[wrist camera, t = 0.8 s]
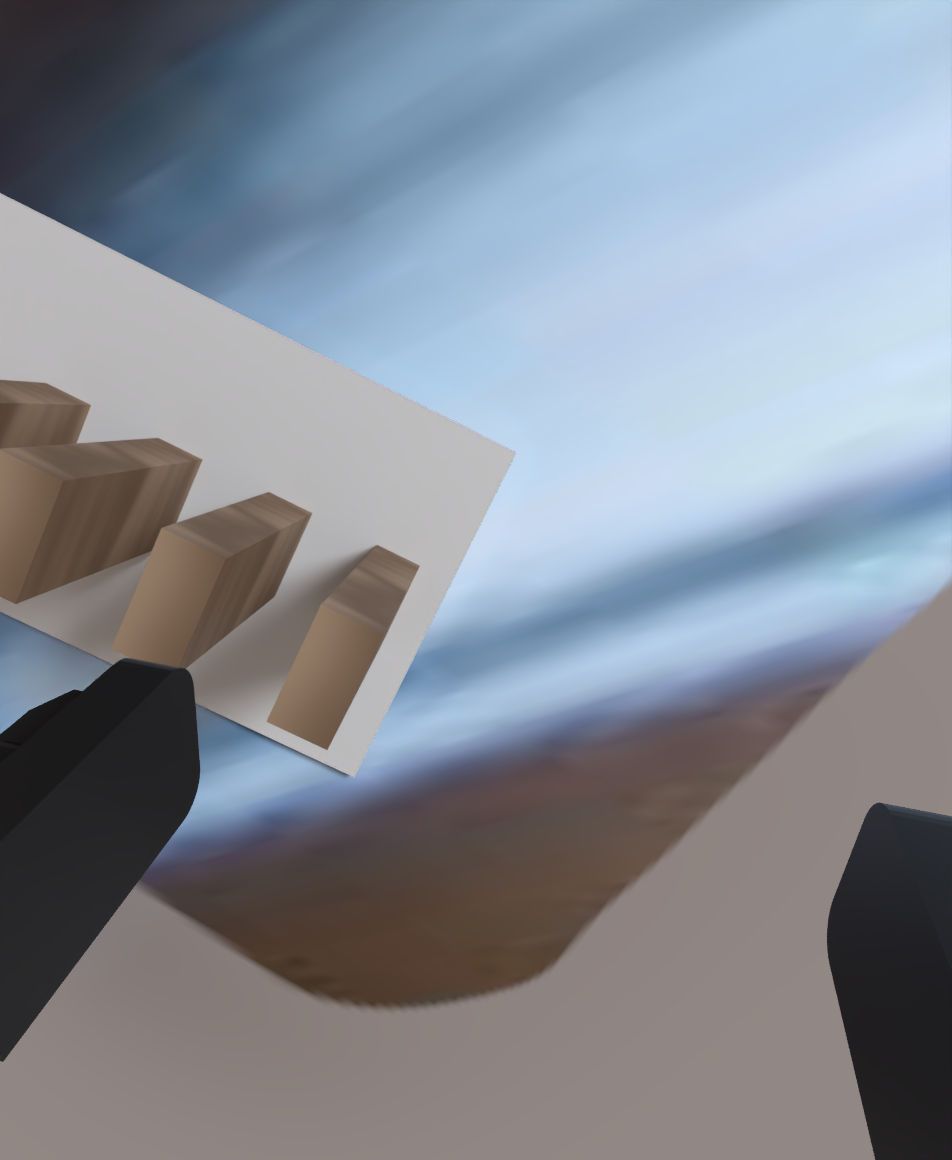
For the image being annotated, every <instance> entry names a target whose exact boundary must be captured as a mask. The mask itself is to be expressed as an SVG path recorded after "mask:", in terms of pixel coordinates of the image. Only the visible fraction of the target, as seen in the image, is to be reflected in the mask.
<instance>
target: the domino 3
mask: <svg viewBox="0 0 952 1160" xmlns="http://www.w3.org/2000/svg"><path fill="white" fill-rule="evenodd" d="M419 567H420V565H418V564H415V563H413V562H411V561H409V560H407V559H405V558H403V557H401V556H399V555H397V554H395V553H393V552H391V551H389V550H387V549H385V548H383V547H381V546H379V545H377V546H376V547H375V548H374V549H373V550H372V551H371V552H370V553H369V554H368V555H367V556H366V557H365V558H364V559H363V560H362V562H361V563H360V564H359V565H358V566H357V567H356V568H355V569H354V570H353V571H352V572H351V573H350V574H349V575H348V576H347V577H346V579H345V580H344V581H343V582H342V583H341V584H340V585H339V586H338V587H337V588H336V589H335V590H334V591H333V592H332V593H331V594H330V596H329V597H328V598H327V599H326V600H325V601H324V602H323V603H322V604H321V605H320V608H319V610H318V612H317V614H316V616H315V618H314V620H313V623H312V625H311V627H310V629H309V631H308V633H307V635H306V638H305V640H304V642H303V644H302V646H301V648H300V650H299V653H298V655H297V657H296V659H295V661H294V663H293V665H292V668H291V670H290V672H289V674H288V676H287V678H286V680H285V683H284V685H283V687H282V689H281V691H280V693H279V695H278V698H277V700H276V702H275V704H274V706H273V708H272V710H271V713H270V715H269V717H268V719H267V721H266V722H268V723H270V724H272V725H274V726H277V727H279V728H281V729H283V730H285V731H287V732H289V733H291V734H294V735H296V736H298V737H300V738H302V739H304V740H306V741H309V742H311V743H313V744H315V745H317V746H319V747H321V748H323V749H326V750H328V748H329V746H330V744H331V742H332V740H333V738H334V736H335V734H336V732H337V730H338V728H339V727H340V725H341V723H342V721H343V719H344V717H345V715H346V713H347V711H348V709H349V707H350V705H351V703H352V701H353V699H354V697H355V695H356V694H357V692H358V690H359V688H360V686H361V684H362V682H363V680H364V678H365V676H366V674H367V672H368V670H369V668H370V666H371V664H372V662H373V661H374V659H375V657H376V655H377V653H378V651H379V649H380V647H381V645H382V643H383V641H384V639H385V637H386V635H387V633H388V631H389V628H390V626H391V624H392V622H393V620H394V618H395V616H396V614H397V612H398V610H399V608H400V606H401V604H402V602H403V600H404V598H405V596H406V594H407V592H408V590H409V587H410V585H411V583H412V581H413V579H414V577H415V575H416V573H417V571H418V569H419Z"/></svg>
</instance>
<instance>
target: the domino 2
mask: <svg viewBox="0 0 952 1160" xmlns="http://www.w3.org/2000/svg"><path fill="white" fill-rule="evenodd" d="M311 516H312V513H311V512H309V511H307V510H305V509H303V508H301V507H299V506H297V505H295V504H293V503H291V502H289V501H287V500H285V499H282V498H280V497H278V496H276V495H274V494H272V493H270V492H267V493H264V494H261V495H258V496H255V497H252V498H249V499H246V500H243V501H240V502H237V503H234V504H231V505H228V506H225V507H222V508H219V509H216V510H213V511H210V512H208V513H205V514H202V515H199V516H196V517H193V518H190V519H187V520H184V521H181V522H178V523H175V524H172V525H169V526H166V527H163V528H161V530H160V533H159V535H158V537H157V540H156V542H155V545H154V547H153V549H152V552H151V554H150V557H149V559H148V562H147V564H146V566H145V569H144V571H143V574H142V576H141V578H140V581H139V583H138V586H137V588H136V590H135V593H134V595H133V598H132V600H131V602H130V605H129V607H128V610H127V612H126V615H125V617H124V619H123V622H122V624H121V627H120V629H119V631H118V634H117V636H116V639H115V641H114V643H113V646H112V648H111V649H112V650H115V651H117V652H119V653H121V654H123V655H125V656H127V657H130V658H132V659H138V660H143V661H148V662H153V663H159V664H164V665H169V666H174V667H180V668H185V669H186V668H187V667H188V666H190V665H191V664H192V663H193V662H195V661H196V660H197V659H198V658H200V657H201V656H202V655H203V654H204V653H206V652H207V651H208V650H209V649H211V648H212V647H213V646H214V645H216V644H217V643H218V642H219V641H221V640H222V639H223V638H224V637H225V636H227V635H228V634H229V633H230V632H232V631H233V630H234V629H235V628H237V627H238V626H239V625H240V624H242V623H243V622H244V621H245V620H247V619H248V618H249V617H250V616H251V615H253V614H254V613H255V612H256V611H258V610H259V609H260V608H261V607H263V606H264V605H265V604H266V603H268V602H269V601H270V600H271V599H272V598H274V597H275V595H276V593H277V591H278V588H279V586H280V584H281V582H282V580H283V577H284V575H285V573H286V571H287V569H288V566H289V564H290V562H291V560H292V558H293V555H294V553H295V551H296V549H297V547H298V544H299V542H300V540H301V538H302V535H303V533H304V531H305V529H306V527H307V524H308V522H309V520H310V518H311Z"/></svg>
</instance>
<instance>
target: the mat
mask: <svg viewBox="0 0 952 1160" xmlns="http://www.w3.org/2000/svg"><path fill="white" fill-rule="evenodd" d="M0 380H12V381H26V382H40V383H47V384H49V385H51V386H53V387H55V388H57V389H59V390H62V391H64V392H66V393H68V394H70V395H72V396H74V397H76V398H78V399H80V400H82V401H84V402H86V403H88V404H90V405H91V407H90V409H89V412H88V415H87V417H86V420H85V422H84V425H83V428H82V430H81V433H80V435H79V438H78V441H77V443H90V442H105V441H119V440H134V439H148V438H160V439H162V440H164V441H166V442H168V443H170V444H172V445H174V446H176V447H178V448H180V449H182V450H184V451H186V452H188V453H190V454H192V455H195V456H197V457H199V458H201V459H203V460H202V463H201V465H200V467H199V470H198V472H197V475H196V477H195V479H194V482H193V484H192V486H191V489H190V491H189V494H188V496H187V498H186V501H185V503H184V506H183V508H182V510H181V513H180V515H179V518H178V520H177V522H176V523H178V522H181V521H184V520H187V519H190V518H193V517H196V516H199V515H202V514H205V513H208V512H210V511H213V510H216V509H219V508H222V507H225V506H228V505H231V504H234V503H237V502H240V501H243V500H246V499H249V498H252V497H255V496H258V495H261V494H264V493H267V492H270V493H272V494H274V495H276V496H278V497H280V498H282V499H285V500H287V501H289V502H291V503H293V504H295V505H297V506H299V507H301V508H303V509H305V510H307V511H309V512H311V513H312V516H311V518H310V520H309V522H308V524H307V527H306V529H305V531H304V533H303V535H302V538H301V540H300V542H299V544H298V547H297V549H296V551H295V553H294V555H293V558H292V560H291V562H290V564H289V566H288V569H287V571H286V573H285V575H284V577H283V580H282V582H281V584H280V586H279V588H278V591H277V593H276V595H275V597H274V598H272V599H271V600H270V601H269V602H268V603H266V604H265V605H264V606H263V607H261V608H260V609H259V610H258V611H256V612H255V613H254V614H253V615H251V616H250V617H249V618H248V619H247V620H245V621H244V622H243V623H242V624H240V625H239V626H238V627H237V628H235V629H234V630H233V631H232V632H230V633H229V634H228V635H227V636H225V637H224V638H223V639H222V640H221V641H219V642H218V643H217V644H216V645H214V646H213V647H212V648H211V649H209V650H208V651H207V652H206V653H204V654H203V655H202V656H201V657H200V658H198V659H197V660H196V661H195V662H193V663H192V664H191V665H190V666H188V667H187V668H186V670H188V671H189V672H190V674H191V676H192V679H193V683H194V693H195V703H196V704H198V705H200V706H203V707H205V708H207V709H209V710H211V711H213V712H215V713H218V714H220V715H222V716H224V717H226V718H228V719H230V720H233V721H235V722H237V723H239V724H241V725H243V726H245V727H247V728H250V729H252V730H254V731H256V732H258V733H260V734H262V735H265V736H267V737H269V738H271V739H273V740H275V741H277V742H280V743H282V744H284V745H286V746H288V747H290V748H292V749H294V750H297V751H299V752H301V753H303V754H305V755H307V756H309V757H312V758H314V759H316V760H318V761H320V762H322V763H324V764H327V765H329V766H331V767H333V768H335V769H337V770H339V771H341V772H344V773H346V774H348V775H350V776H352V777H355V775H356V773H357V771H358V769H359V767H360V765H361V763H362V761H363V759H364V757H365V755H366V753H367V751H368V749H369V747H370V745H371V743H372V741H373V739H374V737H375V735H376V733H377V731H378V729H379V727H380V725H381V723H382V721H383V719H384V717H385V715H386V713H387V711H388V709H389V707H390V705H391V703H392V701H393V699H394V697H395V695H396V693H397V691H398V689H399V687H400V685H401V683H402V681H403V679H404V677H405V675H406V673H407V671H408V669H409V667H410V665H411V663H412V661H413V659H414V657H415V655H416V653H417V651H418V649H419V647H420V645H421V643H422V641H423V639H424V637H425V635H426V633H427V631H428V629H429V627H430V625H431V623H432V621H433V619H434V617H435V615H436V613H437V611H438V609H439V607H440V605H441V603H442V601H443V599H444V597H445V595H446V593H447V591H448V589H449V587H450V585H451V583H452V581H453V579H454V577H455V575H456V573H457V571H458V569H459V567H460V565H461V563H462V561H463V559H464V557H465V555H466V553H467V551H468V549H469V547H470V545H471V543H472V541H473V539H474V537H475V535H476V533H477V531H478V529H479V527H480V525H481V523H482V521H483V519H484V517H485V515H486V513H487V511H488V509H489V507H490V504H491V502H492V500H493V498H494V496H495V494H496V492H497V490H498V488H499V486H500V484H501V482H502V480H503V478H504V476H505V474H506V472H507V470H508V468H509V466H510V464H511V462H512V460H513V458H514V456H515V454H516V452H514V451H512V450H510V449H508V448H506V447H504V446H502V445H500V444H498V443H497V442H495V441H493V440H491V439H489V438H487V437H485V436H483V435H481V434H479V433H477V432H475V431H473V430H471V429H469V428H467V427H465V426H463V425H461V424H459V423H457V422H455V421H453V420H451V419H449V418H447V417H445V416H443V415H441V414H439V413H437V412H435V411H433V410H431V409H429V408H427V407H425V406H423V405H421V404H419V403H417V402H415V401H413V400H411V399H409V398H407V397H405V396H403V395H401V394H399V393H397V392H395V391H393V390H391V389H389V388H387V387H385V386H383V385H381V384H379V383H377V382H375V381H373V380H371V379H369V378H367V377H365V376H363V375H361V374H359V373H357V372H355V371H353V370H351V369H349V368H347V367H345V366H343V365H341V364H339V363H337V362H335V361H333V360H331V359H329V358H327V357H325V356H323V355H321V354H319V353H317V352H315V351H313V350H311V349H309V348H307V347H305V346H303V345H301V344H299V343H298V342H296V341H294V340H292V339H290V338H288V337H286V336H284V335H282V334H280V333H278V332H276V331H274V330H272V329H270V328H268V327H266V326H264V325H262V324H260V323H258V322H256V321H254V320H252V319H250V318H248V317H246V316H244V315H242V314H240V313H238V312H236V311H234V310H232V309H230V308H228V307H226V306H224V305H222V304H220V303H218V302H216V301H214V300H212V299H210V298H208V297H206V296H204V295H202V294H200V293H198V292H196V291H194V290H192V289H190V288H188V287H186V286H184V285H182V284H180V283H178V282H176V281H174V280H172V279H170V278H168V277H166V276H164V275H162V274H160V273H158V272H156V271H154V270H152V269H150V268H148V267H146V266H144V265H142V264H140V263H138V262H136V261H134V260H132V259H130V258H128V257H126V256H124V255H122V254H120V253H118V252H116V251H114V250H112V249H110V248H108V247H106V246H104V245H102V244H100V243H99V242H97V241H95V240H93V239H91V238H89V237H87V236H85V235H83V234H81V233H79V232H77V231H75V230H73V229H71V228H69V227H67V226H65V225H63V224H61V223H59V222H57V221H55V220H53V219H51V218H49V217H47V216H45V215H43V214H41V213H39V212H37V211H35V210H33V209H31V208H29V207H27V206H25V205H23V204H21V203H19V202H17V201H15V200H13V199H11V198H9V197H7V196H5V195H3V194H1V193H0ZM377 545H379V546H381V547H383V548H385V549H387V550H389V551H391V552H393V553H395V554H397V555H399V556H401V557H403V558H405V559H407V560H409V561H411V562H413V563H415V564H418V565H420V567H419V569H418V571H417V573H416V575H415V577H414V579H413V581H412V583H411V585H410V587H409V590H408V592H407V594H406V596H405V598H404V600H403V602H402V604H401V606H400V608H399V610H398V612H397V614H396V616H395V618H394V620H393V622H392V624H391V626H390V628H389V631H388V633H387V635H386V637H385V639H384V641H383V643H382V645H381V647H380V649H379V651H378V653H377V655H376V657H375V659H374V661H373V662H372V664H371V666H370V668H369V670H368V672H367V674H366V676H365V678H364V680H363V682H362V684H361V686H360V688H359V690H358V692H357V694H356V695H355V697H354V699H353V701H352V703H351V705H350V707H349V709H348V711H347V713H346V715H345V717H344V719H343V721H342V723H341V725H340V727H339V728H338V730H337V732H336V734H335V736H334V738H333V740H332V742H331V744H330V746H329V748H328V750H326V749H323V748H321V747H319V746H317V745H315V744H313V743H311V742H309V741H306V740H304V739H302V738H300V737H298V736H296V735H294V734H291V733H289V732H287V731H285V730H283V729H281V728H279V727H277V726H274V725H272V724H270V723H268V722H266V721H267V719H268V717H269V715H270V713H271V710H272V708H273V706H274V704H275V702H276V700H277V698H278V695H279V693H280V691H281V689H282V687H283V685H284V683H285V680H286V678H287V676H288V674H289V672H290V670H291V668H292V665H293V663H294V661H295V659H296V657H297V655H298V653H299V650H300V648H301V646H302V644H303V642H304V640H305V638H306V635H307V633H308V631H309V629H310V627H311V625H312V623H313V620H314V618H315V616H316V614H317V612H318V610H319V608H320V605H321V604H322V603H323V602H324V601H325V600H326V599H327V598H328V597H329V596H330V594H331V593H332V592H333V591H334V590H335V589H336V588H337V587H338V586H339V585H340V584H341V583H342V582H343V581H344V580H345V579H346V577H347V576H348V575H349V574H350V573H351V572H352V571H353V570H354V569H355V568H356V567H357V566H358V565H359V564H360V563H361V562H362V560H363V559H364V558H365V557H366V556H367V555H368V554H369V553H370V552H371V551H372V550H373V549H374V548H375V547H376V546H377ZM151 552H152V551H150V552H148V553H145V554H143V555H140V556H137V557H135V558H132V559H130V560H127V561H125V562H122V563H120V564H117V565H115V566H112V567H109V568H107V569H104V570H102V571H99V572H97V573H94V574H92V575H89V576H86V577H84V578H81V579H79V580H76V581H74V582H71V583H69V584H66V585H64V586H61V587H58V588H56V589H53V590H51V591H48V592H46V593H43V594H41V595H38V596H35V597H33V598H30V599H28V600H25V601H23V602H20V603H18V604H14V603H12V602H10V601H8V600H6V599H4V598H2V597H0V612H2V613H4V614H6V615H8V616H10V617H12V618H15V619H17V620H19V621H21V622H23V623H25V624H27V625H30V626H32V627H34V628H36V629H38V630H40V631H42V632H44V633H47V634H49V635H51V636H53V637H55V638H57V639H59V640H62V641H64V642H66V643H68V644H70V645H72V646H74V647H77V648H79V649H81V650H83V651H85V652H87V653H89V654H91V655H94V656H96V657H98V658H100V659H102V660H104V661H106V662H109V663H111V664H113V665H114V664H115V663H116V662H118V661H119V660H121V659H123V658H130V657H127V656H125V655H123V654H121V653H119V652H117V651H115V650H112V649H111V648H112V646H113V643H114V641H115V639H116V636H117V634H118V631H119V629H120V627H121V624H122V622H123V619H124V617H125V615H126V612H127V610H128V607H129V605H130V602H131V600H132V598H133V595H134V593H135V590H136V588H137V586H138V583H139V581H140V578H141V576H142V574H143V571H144V569H145V566H146V564H147V562H148V559H149V557H150V554H151Z"/></svg>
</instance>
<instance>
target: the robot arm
mask: <svg viewBox="0 0 952 1160" xmlns="http://www.w3.org/2000/svg"><path fill="white" fill-rule="evenodd" d="M199 778H200V760H199V747H198V733H197V720H196V706H195V693H194V683H193V679H192V676H191V674H190V672H189V671H188V670H186V669H185V668H180V667H174V666H169V665H164V664H159V663H153V662H148V661H143V660H138V659H132V658H123V659H121V660H119V661H118V662H116V663H115V664H114V665H113V666H111V667H110V668H109V669H108V670H107V671H106V672H104V673H103V674H102V675H101V676H100V677H99V678H98V679H96V680H95V681H94V682H93V683H92V684H91V685H90V686H88V687H87V688H86V689H85V690H84V691H79V690H72V691H70V692H68V693H65V694H63V695H61V696H59V697H57V698H55V699H53V700H50V701H48V702H46V703H44V704H42V705H40V706H38V707H36V708H33V709H31V710H29V711H28V712H27V713H26V714H24V715H23V716H22V717H21V718H20V719H18V720H17V721H16V722H15V723H13V724H12V725H11V726H10V727H9V728H7V729H6V730H5V731H4V732H3V733H1V734H0V1061H4V1060H5V1058H6V1057H7V1056H8V1054H9V1053H10V1052H11V1050H12V1049H13V1048H14V1046H15V1045H16V1044H17V1042H18V1041H19V1040H20V1038H21V1037H22V1036H23V1034H24V1033H25V1032H26V1030H27V1029H28V1028H29V1026H30V1025H31V1024H32V1022H33V1021H34V1020H35V1018H36V1017H37V1016H38V1014H39V1013H40V1012H41V1010H42V1009H43V1008H44V1006H45V1005H46V1004H47V1002H48V1001H49V1000H50V998H51V997H52V996H53V994H54V993H55V992H56V990H57V989H58V988H59V986H60V985H61V984H62V982H63V981H64V980H65V978H66V977H67V976H68V974H69V973H70V972H71V970H72V969H73V968H74V966H75V965H76V964H77V962H78V961H79V960H80V958H81V957H82V956H83V954H84V953H85V952H86V950H87V949H88V948H89V946H90V945H91V944H92V942H93V941H94V940H95V938H96V937H97V936H98V934H99V933H100V932H101V930H102V929H103V928H104V926H105V925H106V924H107V922H108V921H109V920H110V918H111V917H112V916H113V914H114V913H115V912H116V910H117V909H118V907H119V906H120V905H121V904H122V902H123V901H124V900H125V898H126V897H127V896H128V894H129V893H130V892H131V890H132V889H133V888H134V886H135V885H136V884H137V882H138V881H139V880H140V878H141V877H142V876H143V874H144V873H145V872H146V870H147V869H148V868H149V866H150V865H151V864H152V862H153V861H154V860H155V858H156V857H157V856H158V854H159V853H160V852H161V850H162V849H163V848H164V846H165V845H166V844H167V842H168V841H169V840H170V838H171V837H172V836H173V834H174V833H175V832H176V830H177V829H178V828H179V826H180V825H181V824H182V822H183V821H184V819H185V818H186V816H187V814H188V813H189V811H190V809H191V806H192V804H193V802H194V799H195V796H196V793H197V789H198V784H199ZM827 947H828V948H827V949H828V958H829V963H830V967H831V972H832V976H833V981H834V985H835V989H836V994H837V997H838V1002H839V1006H840V1011H841V1015H842V1019H843V1023H844V1027H845V1032H846V1036H847V1040H848V1045H849V1049H850V1053H851V1057H852V1061H853V1066H854V1070H855V1075H856V1079H857V1083H858V1088H859V1092H860V1096H861V1100H862V1105H863V1109H864V1113H865V1117H866V1122H867V1126H868V1130H869V1135H870V1139H871V1143H872V1147H873V1151H874V1156H875V1160H952V817H951V816H947V815H941V814H936V813H931V812H926V811H920V810H915V809H909V808H905V807H899V806H893V805H888V804H883V803H876V804H874V805H873V806H872V807H871V808H870V809H869V811H868V813H867V815H866V817H865V819H864V822H863V824H862V827H861V829H860V832H859V835H858V837H857V840H856V842H855V845H854V847H853V850H852V853H851V855H850V858H849V860H848V863H847V865H846V868H845V871H844V873H843V875H842V878H841V881H840V883H839V886H838V889H837V891H836V893H835V896H834V899H833V902H832V905H831V909H830V914H829V919H828V929H827Z"/></svg>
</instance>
